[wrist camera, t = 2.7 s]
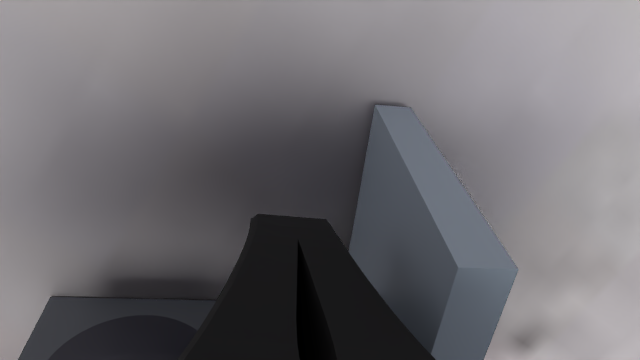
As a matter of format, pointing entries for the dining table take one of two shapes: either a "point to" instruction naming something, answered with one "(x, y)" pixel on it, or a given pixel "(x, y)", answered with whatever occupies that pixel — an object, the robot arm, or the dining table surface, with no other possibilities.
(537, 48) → the dining table surface
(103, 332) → the box
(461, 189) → the side door
